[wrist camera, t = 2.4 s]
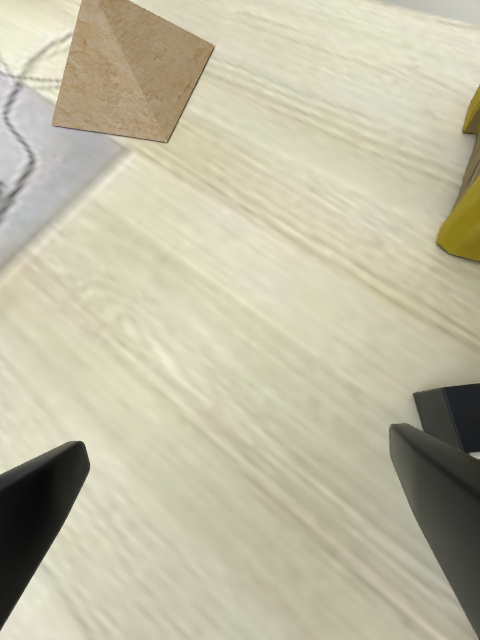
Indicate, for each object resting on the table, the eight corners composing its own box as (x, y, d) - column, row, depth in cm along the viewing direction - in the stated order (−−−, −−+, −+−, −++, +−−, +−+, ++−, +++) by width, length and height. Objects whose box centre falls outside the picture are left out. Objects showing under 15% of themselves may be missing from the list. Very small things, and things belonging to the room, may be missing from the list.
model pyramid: (216, 43, 39) (196, -76, 30) (167, 142, 35) (125, 40, 25) (109, 36, 43) (61, -72, 33) (51, 125, 38) (-23, 30, 29)
